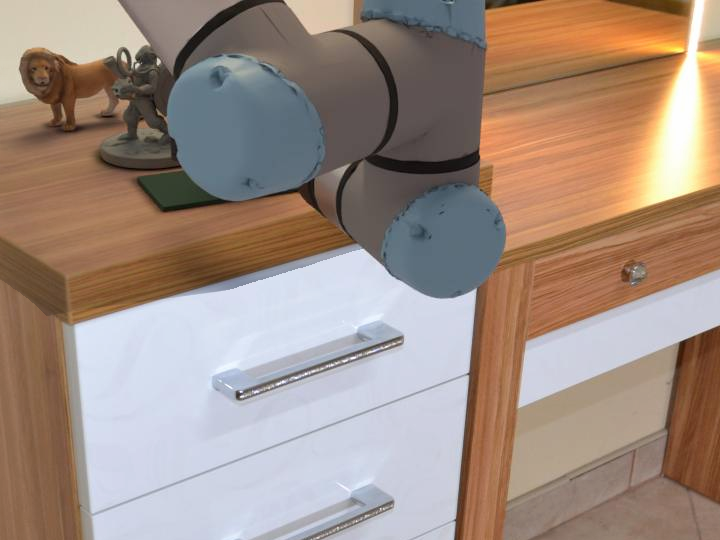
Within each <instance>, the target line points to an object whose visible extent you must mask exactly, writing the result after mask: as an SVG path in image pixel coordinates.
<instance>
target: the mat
mask: <svg viewBox="0 0 720 540" xmlns="http://www.w3.org/2000/svg"><path fill="white" fill-rule="evenodd" d="M136 181H137V182H138V183H139V185H140V186H141V187H142V188H143V189H144V190H145V192H146V193H147V194H148V195H149V196H150V197H151V199H152V200H153V201H154V202H155V203H156V204H157V205H158V207H160V209H161V210H162V211H163V212H167V211H174V210H175V211H176V210H180V209H181V210H182V209H188V208H194V207H201V206H208V205H214V204H221V203H228V202H231V201H230V200H224V199H221V198H218V197H215V196H213V195H211V194H209V193H208V192H206V191H205V190H203V189H202V188H201V187H199V186H198V185H197V184H196V183H194V181H193V180H192V179H191V178H190V177H189V176H188V175H187V173H186V172H185V171H184V169H182V170H176V171H169V172H161V173H153V174H146V175H139V176H136ZM295 192H298V190H297V189H296V188H295V189H291V190H287V191H281V192H277V193H273V194H269V195H265V196H264V197H268V196H274V195H281V194H289V193H295ZM261 197H263V196H260V197H259V198H261Z"/></svg>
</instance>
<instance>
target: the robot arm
mask: <svg viewBox="0 0 720 540" xmlns="http://www.w3.org/2000/svg"><path fill="white" fill-rule="evenodd" d="M117 2H118V3H119V5H120V6H121V7H122V9H123V10H124V12H125V13H126V14H127V15H128V17H129V18H130V20H131V21H132V22H133V24H134V25H135V27H136V28H137V29H138V30H139V32H140V33H141V35H142V36H143V37H144V39H145V40H146V42H147V44H148V45H149V46H151V47H152V48H153V50H154V51H155V52H156V54H157V55H158V57H159V58H160V59H161V61H162V62H163V63H164V65H165V66H166V67H167V69H168V70H169V72H170V73H171V74H172V76H173V77H174V79H175V81H176V83H175V85H174V87H173V88H172V91H171V93H170V96H169V100H168V106H167V117H166V123H167V126H168V132H169V135H170V147H171V159H172V160H173V161H177V162H179V163H180V166H181V168H182V170H184V171H185V172H186V173H187V175H188V176H189V177H190V178H191V179H192V180H193V181H194V183H196V184H197V185H198V186H199V187H201V188H202V189H203V190H205V191H206V192H208V193H209V194H211V195H213V196H215V197H218V198H221V199H224V200H230V201H229V202H244V201H248V200H252V199H256V198H261V197H260V196H262V197H266V196H265V195H268V196H270V195H269V194H273V193H277V192H281V191H287V190H291V189H295V188H296V189H297V190H298V191H297V192H298V194H299V196H300V197H301V198H302V199H303V200H304V202H305V203H306V204H308V205H309V206H310V207H312V208H313V209H314V210H315V211H316V212H318V213H319V214H320V215H321V216H322V217H324V218H325V219H327V220H329V222H330V223H332V224H333V225H334V226H335V227H337V228H338V229H339V230H340V231H341V232H343V233H344V234H345V236H347V237H349V238H350V239H351V240H352V241H354V242H355V244H357V245H359V246H360V247H361V248H362V249H363V250H364V251H366V252H367V253H368V254H369V255H370V256H371V257H372V258H373V259H374V260H375V261H377V262H378V263H379V264H380V265H381V266H382V267H384V269H385V270H386V271H387V272H388V273H387V274H389V275H390V276H391V277H392V278H394V279H396V280H397V281H400V282H402V283H403V284H405V285H406V286H407V287H409V288H411V289H412V290H414V291H416V292H418V293H420V294H422V295H424V296H427V297H430V298H434V299H438V300H439V299H440V300H445V299H447V300H448V299H455V298H458V297H462V296H465V295H466V294H469V293H472V292H473V291H475V290H476V289H477V288H479V287H480V286H482V285H483V284H484V283H485V282H486V281H487V280H488V279H489V278H490V277H491V276H492V275H493V273H494V272H495V270H496V269H497V268H498V265H499V263H500V262H501V259H502V256H503V255H504V251H505V247H506V242H507V227H506V223H505V221H504V217H503V214H502V212H501V210H500V209H499V207H498V205H497V204H496V203H495V202H494V201H493V200H492V198H490V197H489V194H488V193H487V191H485V190H483V188H480V176H481V175H480V174H481V173H480V172H481V154H480V146H481V134H482V119H483V106H484V105H483V102H484V89H485V87H484V86H485V73H486V72H485V69H486V55H487V51H488V43H487V41H486V0H362V7H361V11H360V12H359V19H360V20H361V22H360V23H357V24H353V25H348V26H344V27H340V28H335V29H332V30H331V29H330V30H328V31H323V32H320V33H319V32H318V33H315V34H311V33H310V32H309V31H308V30H307V28H306V27H305V26H304V24H303V23H302V21H301V20H300V19H299V18H298V16H297V14H296V13H295V12H294V11H293V10H292V8H291V7H290V6H289V5H288V4H287V3H286V2H285V0H117ZM160 59H159V60H160ZM161 61H160V62H161Z"/></svg>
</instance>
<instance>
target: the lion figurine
mask: <svg viewBox="0 0 720 540" xmlns="http://www.w3.org/2000/svg"><path fill="white" fill-rule="evenodd" d="M106 58H107V57H103V58H100V59H97V60H95V61H92V62H87V63H81V64H79V63H76V62H73V61H71V60H70V59H68V58H67V57H65V56H64V55H62V54H58V53H55V52H52V51H51V50H50V49H48V48H45V47H40V46H36V47H32V48H28V49H26V50H25V51H24V52H23V54H22V56H21V57H20V61H19V66H18V71H19V74H20V76H21V81H22V84H23V86H24V88H25V90H26V91H27V93H29V94H30V95H33V96H34V97H35V98H37V100H38V101H40V102H41V103H43V104H45V105H50V109H51V111H52V115H53V118H52V119H51V120H49V121H48V124H49V126H51V127H57V126H60V125H61V123H62V119H63V116H64V115H63V110H64V114H65V124H63V125H62V128H63V131H67V132H69V131H70V132H71V131H74V130H75V129H76V126H77V123H76V116H75V109H76V108H75V107H76V106H75V105H76V101H77V100H79V99H88V98H92V97H94V96H96V95H97V94H99V93H100V92H101V91H103V90H104V92H105V93H106V95H107V97H108V100H109V102H108V106H107V107H106V108H105V109H101V110H100V115H101V116H103V117H108V116H111V115H113V113H114V112H115V110H116V108H117V106H118V105H119V104H120V99H119V98H117V97H116V96H115V95H114V93H113V91H112V89H111V87H113V85H114V83H115V81H116V80H118V77H117V76H116V75H115V74H114V73H113V72H112V71H111V70H110V69H109V68H108V67H107V66H106V65H105V64H104V63H103V60H104V59H106ZM115 60H116V61H117V57H115ZM121 60H122V64H123V67H124V69H125V70H126V67H127V61H124V60H123V59H121ZM129 77H130V79H131V84H134V76H133V75H131V76H129ZM132 97H135V93H133V94H132ZM127 101H129V102H130V101H132V100H127ZM62 107H63V110H62ZM139 118H140V119H142V118H144V116H143V115H141V116H140V117H139Z"/></svg>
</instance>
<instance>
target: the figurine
mask: <svg viewBox="0 0 720 540" xmlns="http://www.w3.org/2000/svg"><path fill="white" fill-rule="evenodd" d="M123 53H124V55H125V58H126V63H127V67H126V70H125V69H124V67H123V64H122V60H123V59H122V54H123ZM105 58H106V59H104V60H103V63H104V64H105V65H106V66H107V67H108V68H109V69H110V70H111V71H112V72H113V73H114V74H115V75H116V76H117V77H118V80H116V81H115V83H114V85H113V87H111V89H112V91H113V93H114V95H115V96H116V97H117V98H118V99H119V100H120V101H128V100H132V101H129V104H128V105H127V106H126V108H125V110H124V111H123V115H122V120H123V122H125V124H126V128H127V129H126V130H124V131H120V132H118V133H115V134H111V135H110V136H107V137H106V138H104V139H103V140H101V142H100V146H99V147H100V156H101V158H102V160H103V161H105V162H106V163H108V164H111V165H114V166H117V167H121V168H128V169H140V170H141V169H142V170H143V169H145V170H146V169H147V170H148V169H166V168H167V169H168V168H173V167H179V166H181V165H180V163H179V162H177V161H173V160H172V159H171V147H170V135H169V132H168V126H167V120H166V119H165V118H167V106H168V100H169V96H170V93H171V91H172V88H173V87H174V85H175V83H176V81H175V79H174V77H173V76H172V74H171V73H170V72H169V70H168V69H167V67H166V66H165V65H164V63H163V62H162V61H161V59H160V58H159V57H158V55H157V54H156V52H155V51H154V50H153V48H152V47H151V46H150V44H144V45H142V46H141V47H140V48H139V49H138V51H137V52H136V53H135V56H134V59H135V61H134V62H133V61H132V55H131V52H130V50H129V49H128V48H127V47H125V46H121V47H119V48H118V49H117V51H116V57H115V56H114V55H109V56H107V57H105ZM115 58H117V61H116V60H115ZM158 60H159V61H160V62H159V64H158ZM137 64H139V65H138V66H137V67H136V65H137ZM131 75H133V76H134V84H132V82H131V79H130V77H129V76H131ZM133 93H135V97H132V94H133ZM158 112H159V114H158ZM141 115H143V116H144V117H143V118H144V121H145V123H146V124H147V126H148V127H144V128H143V127H142V128H138V127H139V123H140V119H141V118H139V117H140V116H141Z"/></svg>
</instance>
